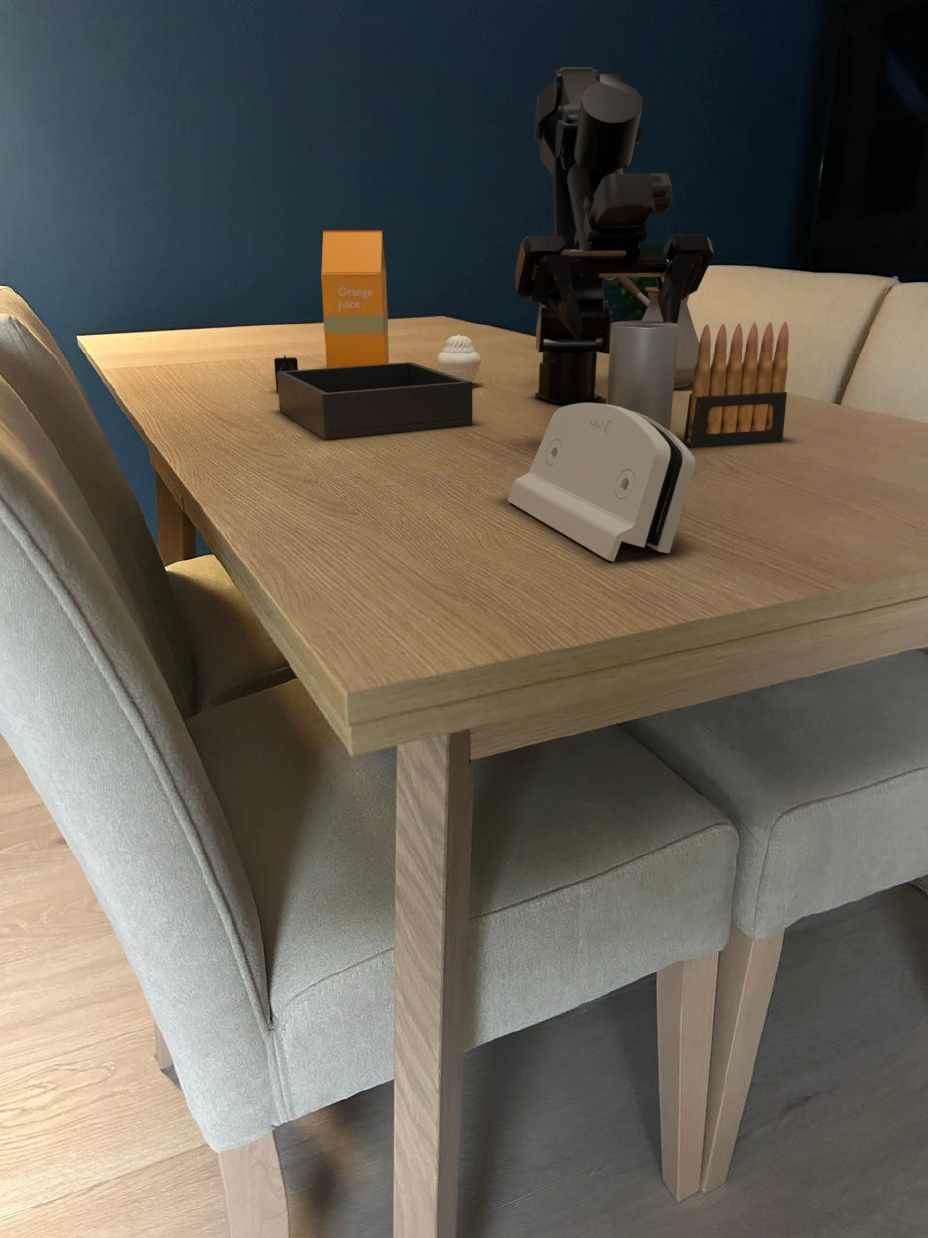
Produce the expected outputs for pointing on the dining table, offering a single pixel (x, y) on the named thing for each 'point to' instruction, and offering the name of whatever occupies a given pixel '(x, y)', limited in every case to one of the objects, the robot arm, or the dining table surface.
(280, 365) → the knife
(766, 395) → the ammunition clip
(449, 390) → the bin
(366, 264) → the orange juice
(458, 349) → the muffin
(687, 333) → the coffee pot
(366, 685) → the dining table surface
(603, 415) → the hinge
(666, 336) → the metal can
